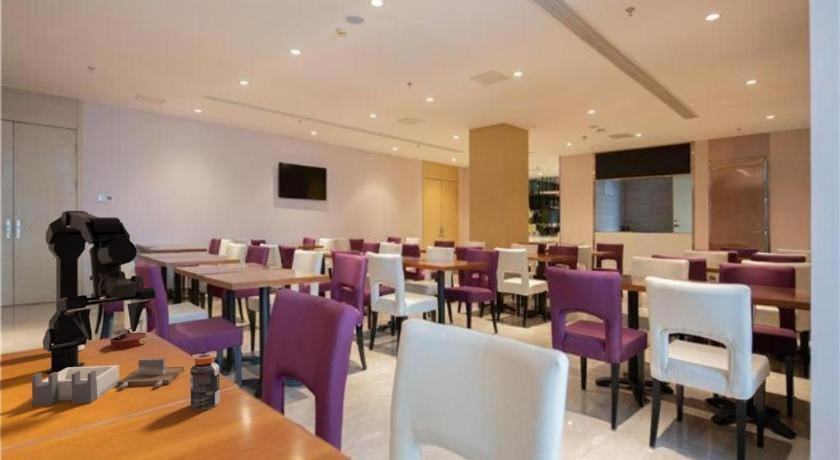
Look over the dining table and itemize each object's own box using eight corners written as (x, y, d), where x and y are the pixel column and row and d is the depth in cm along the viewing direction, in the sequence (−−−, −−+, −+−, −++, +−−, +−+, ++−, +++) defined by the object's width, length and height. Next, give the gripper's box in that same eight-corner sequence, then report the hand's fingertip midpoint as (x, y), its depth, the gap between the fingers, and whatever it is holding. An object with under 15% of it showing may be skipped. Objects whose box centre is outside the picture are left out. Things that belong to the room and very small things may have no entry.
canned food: (127, 363, 141) (112, 340, 136) (110, 355, 146) (95, 332, 141) (159, 340, 149) (146, 317, 144) (143, 333, 154) (130, 311, 149)
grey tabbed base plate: (136, 372, 120) (136, 354, 119) (183, 370, 121) (183, 352, 121) (112, 390, 107) (111, 369, 107) (165, 388, 109) (164, 367, 109)
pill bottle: (225, 401, 102) (225, 353, 101) (205, 412, 96) (204, 361, 96) (205, 397, 104) (204, 350, 103) (184, 408, 98) (183, 358, 98)
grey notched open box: (67, 385, 111) (67, 358, 110) (119, 382, 113) (119, 356, 112) (32, 406, 99) (31, 376, 98) (91, 402, 100) (90, 373, 100)
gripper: (74, 268, 91) (81, 343, 90) (165, 262, 108) (172, 325, 106) (52, 274, 97) (58, 345, 96) (141, 268, 113) (147, 328, 112)
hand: (112, 335), depth 102 cm, fingers open, 9 cm apart
